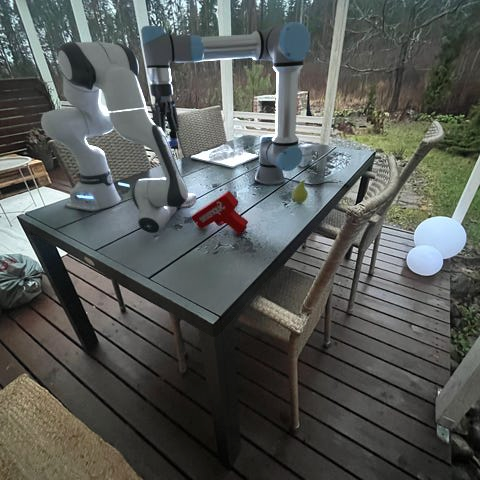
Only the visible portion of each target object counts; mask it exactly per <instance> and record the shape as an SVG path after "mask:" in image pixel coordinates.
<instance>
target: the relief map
mask: <svg viewBox="0 0 480 480" xmlns="http://www.w3.org/2000/svg"><path fill="white" fill-rule="evenodd" d="M190 158H191V159H192V160H197V161H201V162H205V163H209V164H210V163H211V164H214V165H218V166H221V167H222V166H223V167H228V168H231V169H233V168H234V169H235V168H236V167H238V166H241V165H242V164H246V163H248V162H250V161H252V160H255V159H259V154H256V153H254V154H253V153H250V152H248V151H246V150H245V149H244V148H243V147H240V148H237V149H234V148H232V147H231V146H230V145H229V144H224V143H223V144H222V145H220V146H218V147H215V148H212V149H209V150H205V151H201V152H200V153H198V154H194V155H191V156H190Z"/></svg>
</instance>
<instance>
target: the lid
mask: <svg viewBox="0 0 480 480" xmlns="http://www.w3.org/2000/svg"><path fill="white" fill-rule="evenodd" d="M167 139H168V143H169V146H170V148H172V147H173V146H177V145H178V146H179V139H178V137H177V138H170V137H167Z"/></svg>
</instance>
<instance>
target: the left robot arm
mask: <svg viewBox="0 0 480 480" xmlns="http://www.w3.org/2000/svg"><path fill="white" fill-rule="evenodd" d="M56 56H57V63H58V67H59V69H60V72H61V73H62V84H63V85H62V89H63V90H62V93H63V96H64V98H65V100H66V101H67V102H68V103H69V104H70V105H71V106H73V107H64V108H63V107H62V108H55V109H52V110H49V111H46V112H43V114H42V115H41V118H40V124H41V128H42V130H43V132H44V133H45V135H46V136H47V137H49V139H51V140H53V141H55V142H56V143H59V144H61V145H63V146H64V147H65V148H66V149H67V150H68V151H69V152H70V153H71V154H72V156H73V158H74V160H75V162H76V165H77V168H78V170H79V173H78V174H77V175H75V176H74V177H76V179H78V183H76V184H75V186H73V188H71V189H70V192H69V197H70V200H69V201H68V202H67V203H66V207H67V208H69V209H70V208H72V209H75V210H82V211H88V212H96V211H99V210H102V209H107V208H110V207H111V208H112V207H113V206H116V205H118V204H119V203H120V202H121V201H122V198H121V196H120V195H119V193H118V191H117V189H116V186H115V184H114V179H113V174H112V171H111V169H110V168H109V165H108V161H107V158H106V157H107V156H106V154H105V152H104V151H103V150H102V149H101V148H99V147H97V146H93V145H90V144H89V143H88V141H87V139H88V138H93V137H99V136H104V135H105V134H108V133H110V132H112V131H113V130H114V131H115V132H116V134H118V135H119V136H120V137H122V138H123V139H124V140H126V141H129V142H131V143H134V144H137V145H141V146H144V147H146V148H148V149H150V150H151V151H152V152H153V153H154V154H155V156H156V158H157V160H158V162H159V164H160V167H161V170H162V173H163V175H164V177H157V178H156V177H155V178H153V177H151V178H141V179H140V178H139V179H138V180H136V182H135V183H134V184H133V187H132V190H131V199H132V202H133V204H134V206H135V207H136V209H137V210H138V219H137V224H138V226H139V227H140V229H141V230H143V231H144V232H146V233H148V234H156V233H158V232H160V231H162V230H163V229H164V228H165V227H166V226H167V224H168V223H169V221H170V219H171V218H172V217H173V216H174V214H175V213H176V212H177V211H178V209H177V208H181V209H185V210H187V209H191V208H192V207H194V206H195V205H196V203H197V195H196V194H195V193H189V190H188V186H187V183H186V181H185V180H184V178H183V176H182V174H181V171H180V169H179V166H178V164H177V161H176V159H175V156H174V153H173V151H172V147H170V146H169V143H168V141H167V138H168V137H167V138H166V136H165V135H166V133H165V134H164V132H163V130H162V129H161V128H160V127H159V126H157V125H155V124H154V122H153V118H151V116H150V114H149V112H148V108H147V104H146V100H145V97H144V94H143V90H142V87H141V85H140V82H139V80H138V76H139V71H140V70H139V69H140V68H139V62H138V59H137V55H136V54H135V53H134V51H133V50H132V48H131V47H129V46H127V45H125V44H121V43H112V42H111V43H110V42H105V41H86V42H85V41H82V42H80V41H75V42H74V41H69V42H64V43H62V44H60V45H59V46H58V49H57V55H56ZM101 94H103V97H104V101H105V102H104V103H105V105H106V106H104V105H102V102H101V97H102V96H101ZM117 183H118V186H123V187H128V188H130V184H128V183H123V182H117Z"/></svg>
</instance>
